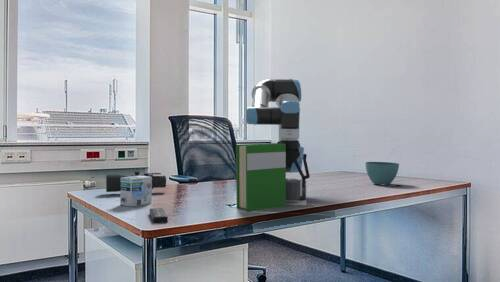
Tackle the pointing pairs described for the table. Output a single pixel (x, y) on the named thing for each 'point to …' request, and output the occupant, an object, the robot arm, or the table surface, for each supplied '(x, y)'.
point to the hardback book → (260, 176)
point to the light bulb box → (136, 190)
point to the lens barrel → (303, 193)
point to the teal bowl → (381, 172)
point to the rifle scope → (115, 180)
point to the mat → (295, 202)
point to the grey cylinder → (292, 189)
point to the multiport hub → (158, 215)
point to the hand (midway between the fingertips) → (288, 195)
